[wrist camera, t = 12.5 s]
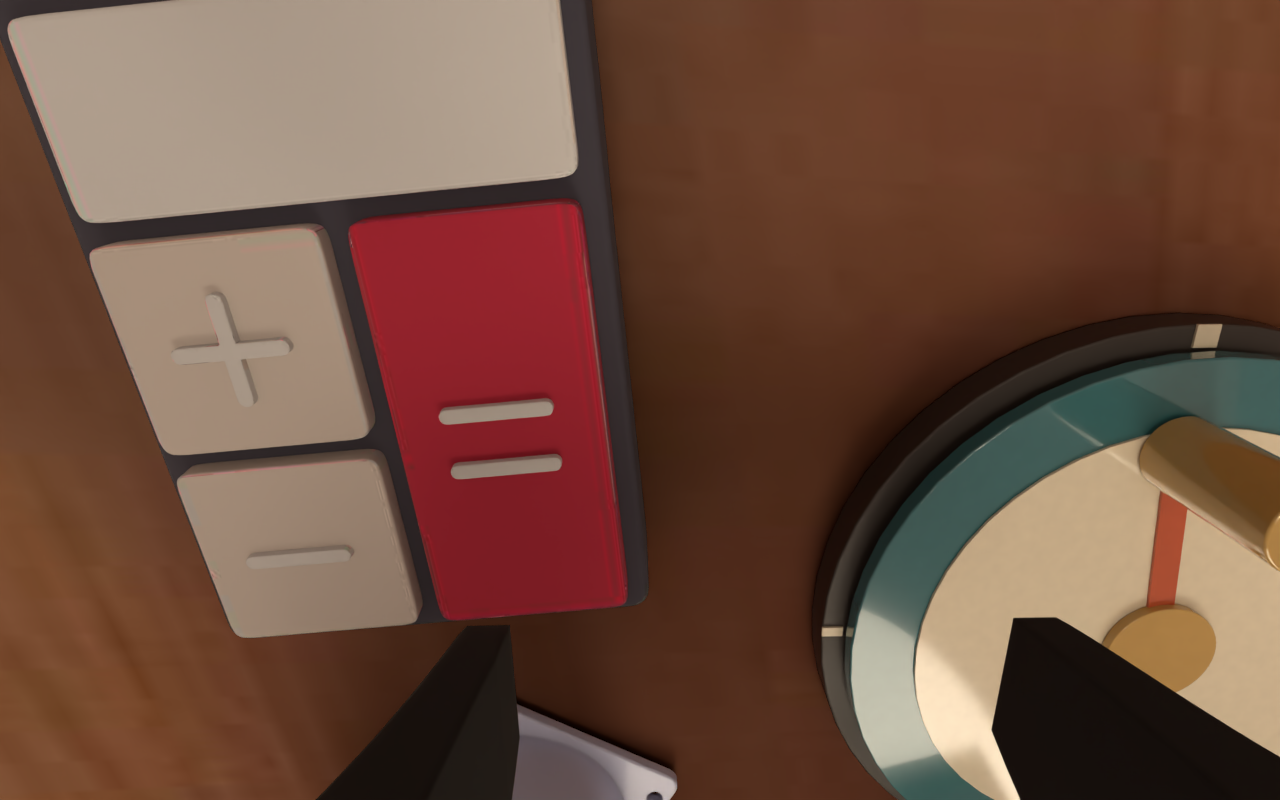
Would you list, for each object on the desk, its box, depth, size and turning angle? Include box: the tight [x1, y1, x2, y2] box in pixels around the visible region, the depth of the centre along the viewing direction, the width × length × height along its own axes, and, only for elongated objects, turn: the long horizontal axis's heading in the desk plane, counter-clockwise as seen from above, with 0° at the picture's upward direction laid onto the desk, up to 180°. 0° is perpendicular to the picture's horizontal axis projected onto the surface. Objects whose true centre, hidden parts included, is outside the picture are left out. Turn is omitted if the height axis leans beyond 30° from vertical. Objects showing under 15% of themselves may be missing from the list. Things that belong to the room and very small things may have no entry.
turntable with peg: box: [845, 351, 1280, 800], centre depth 19 cm, size 17×17×5 cm
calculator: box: [0, 0, 649, 638], centre depth 18 cm, size 11×4×15 cm
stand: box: [812, 313, 1280, 800], centre depth 22 cm, size 18×18×1 cm
